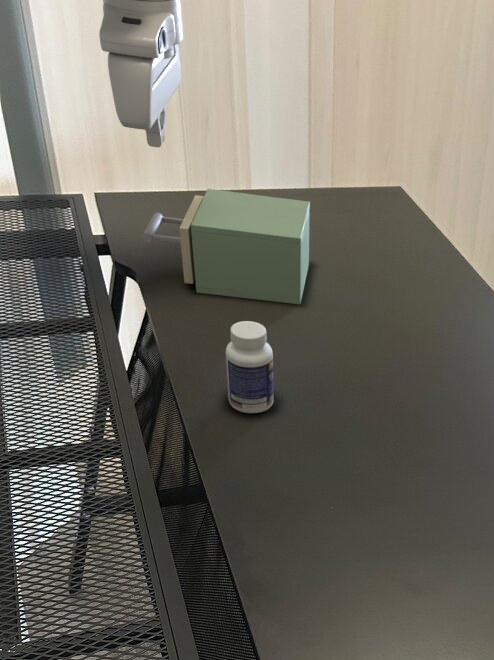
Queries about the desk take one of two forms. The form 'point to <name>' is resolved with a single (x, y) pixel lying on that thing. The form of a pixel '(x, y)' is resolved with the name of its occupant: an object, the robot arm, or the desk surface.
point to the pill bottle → (249, 368)
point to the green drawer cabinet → (251, 246)
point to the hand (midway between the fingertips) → (157, 143)
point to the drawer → (183, 239)
